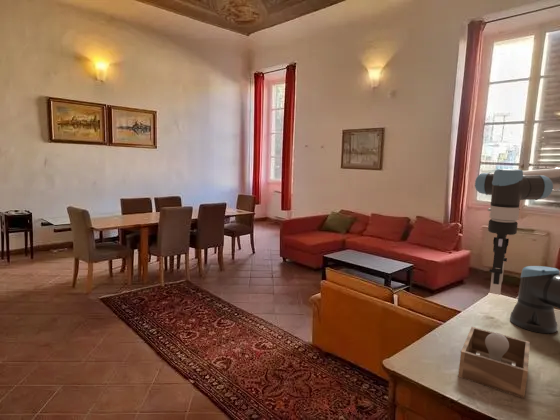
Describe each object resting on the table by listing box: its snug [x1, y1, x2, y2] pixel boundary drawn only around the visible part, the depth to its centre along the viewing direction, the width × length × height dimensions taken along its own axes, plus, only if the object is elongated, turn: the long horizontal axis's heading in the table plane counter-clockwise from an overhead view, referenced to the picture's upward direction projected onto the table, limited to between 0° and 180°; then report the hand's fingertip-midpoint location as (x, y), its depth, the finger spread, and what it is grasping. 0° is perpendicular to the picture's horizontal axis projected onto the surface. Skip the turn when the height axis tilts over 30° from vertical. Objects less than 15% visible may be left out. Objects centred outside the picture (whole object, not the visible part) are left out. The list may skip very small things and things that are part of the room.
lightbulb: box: [485, 332, 509, 362], centre depth 109 cm, size 6×6×11 cm
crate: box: [457, 326, 531, 399], centre depth 109 cm, size 20×16×8 cm
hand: (496, 286), depth 114 cm, fingers open, 13 cm apart
